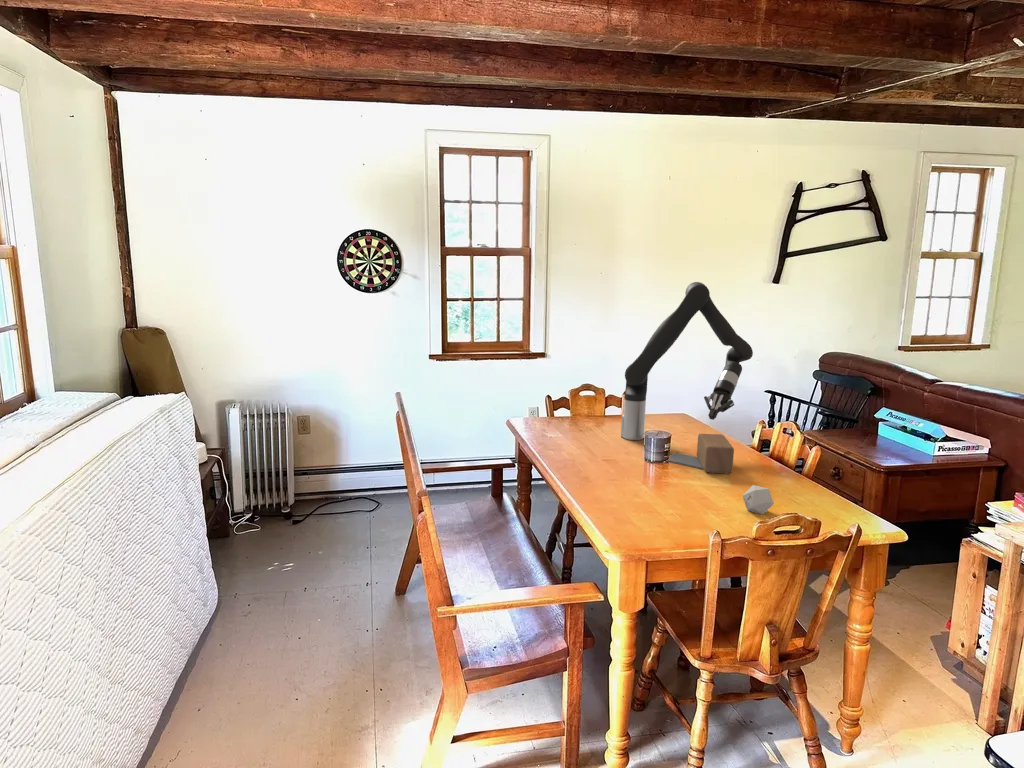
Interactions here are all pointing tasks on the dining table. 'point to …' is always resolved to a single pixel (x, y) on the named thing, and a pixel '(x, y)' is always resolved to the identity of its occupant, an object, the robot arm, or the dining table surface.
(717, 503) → the dining table surface
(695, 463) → the mat
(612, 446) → the dining table surface
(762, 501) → the die
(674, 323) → the robot arm
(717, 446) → the wooden block
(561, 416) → the dining table surface
